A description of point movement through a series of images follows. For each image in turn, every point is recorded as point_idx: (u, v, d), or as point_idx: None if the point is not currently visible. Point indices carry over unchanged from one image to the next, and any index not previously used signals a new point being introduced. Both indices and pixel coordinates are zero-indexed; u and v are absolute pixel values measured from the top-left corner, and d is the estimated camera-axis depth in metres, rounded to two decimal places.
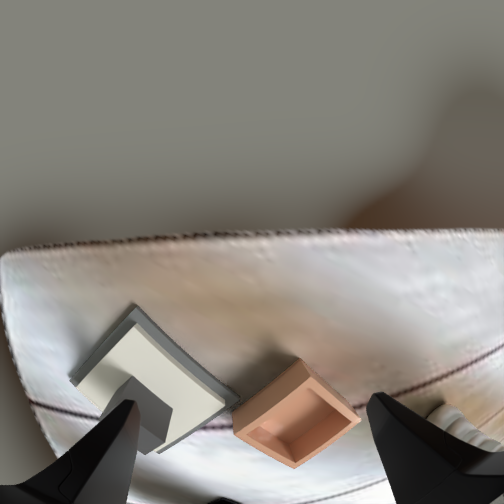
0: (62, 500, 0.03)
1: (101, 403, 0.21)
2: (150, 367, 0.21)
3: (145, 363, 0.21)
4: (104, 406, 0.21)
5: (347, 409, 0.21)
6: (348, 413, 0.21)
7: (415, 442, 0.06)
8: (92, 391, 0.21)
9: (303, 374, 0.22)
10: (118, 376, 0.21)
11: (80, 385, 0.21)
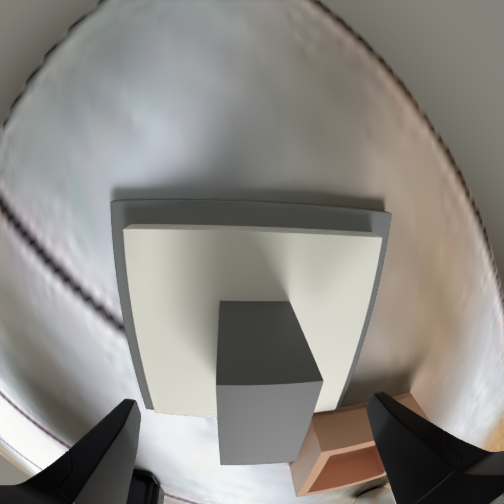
0: (62, 500, 0.03)
1: (152, 296, 0.11)
2: (332, 311, 0.12)
3: (333, 300, 0.12)
4: (151, 306, 0.11)
5: None
6: None
7: (415, 442, 0.06)
8: (159, 266, 0.11)
9: (419, 414, 0.15)
10: (260, 283, 0.11)
11: (142, 234, 0.10)
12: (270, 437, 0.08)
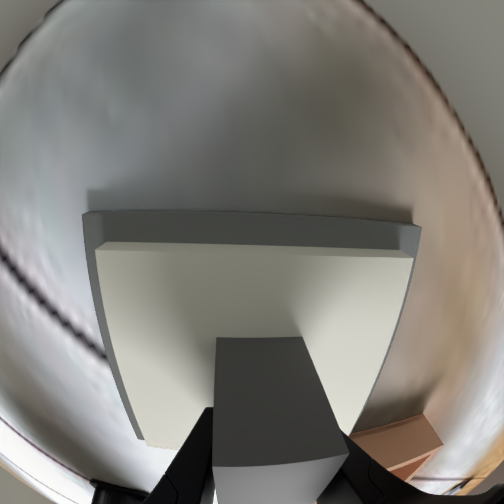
0: None
1: (134, 331, 0.09)
2: (351, 344, 0.10)
3: (353, 332, 0.09)
4: (134, 341, 0.09)
5: None
6: None
7: None
8: (140, 296, 0.08)
9: (433, 437, 0.12)
10: (266, 317, 0.09)
11: (118, 256, 0.08)
12: (279, 500, 0.05)
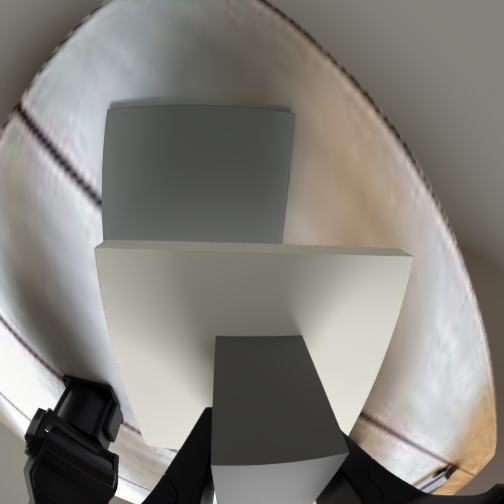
0: None
1: (133, 329, 0.09)
2: (351, 343, 0.10)
3: (353, 331, 0.09)
4: (133, 340, 0.09)
5: None
6: None
7: None
8: (139, 294, 0.08)
9: None
10: (266, 316, 0.09)
11: (117, 254, 0.08)
12: (278, 500, 0.05)
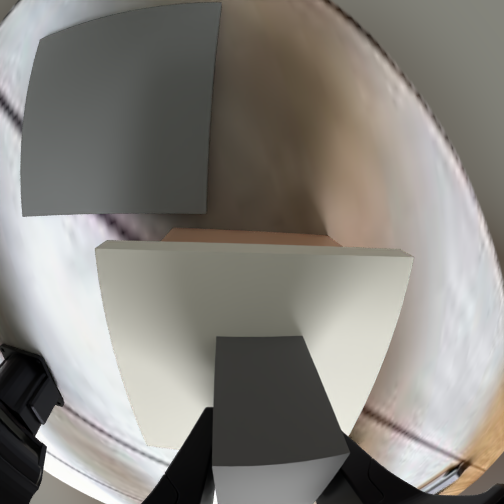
0: None
1: (134, 330, 0.09)
2: (351, 344, 0.10)
3: (354, 332, 0.09)
4: (134, 340, 0.09)
5: None
6: None
7: None
8: (139, 294, 0.08)
9: None
10: (267, 316, 0.09)
11: (117, 255, 0.08)
12: (279, 500, 0.05)
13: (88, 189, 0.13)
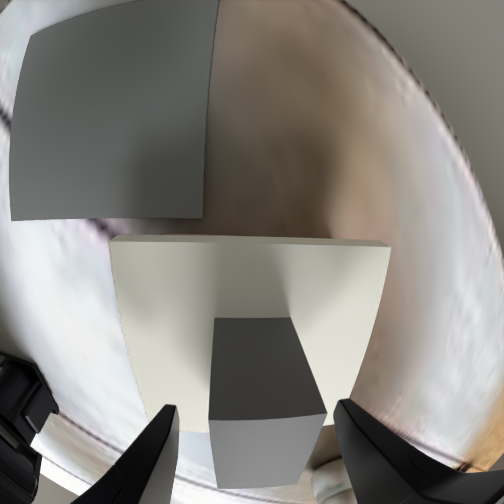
0: None
1: (142, 313, 0.10)
2: (336, 326, 0.11)
3: (337, 315, 0.11)
4: (142, 323, 0.10)
5: None
6: None
7: (377, 456, 0.06)
8: (148, 281, 0.10)
9: None
10: (258, 299, 0.10)
11: (128, 247, 0.09)
12: (269, 465, 0.07)
13: (77, 192, 0.12)
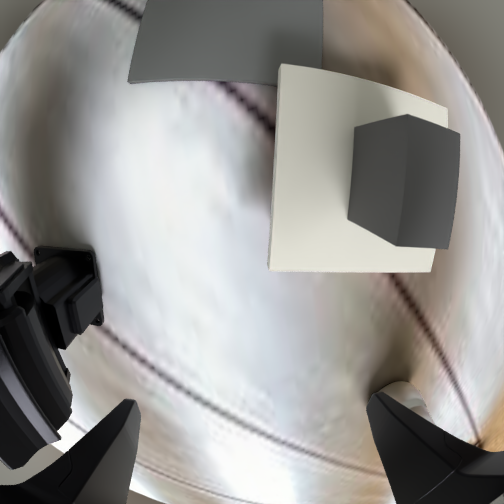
0: (62, 499, 0.03)
1: (300, 117, 0.12)
2: None
3: None
4: (298, 126, 0.12)
5: None
6: None
7: (415, 442, 0.06)
8: (309, 93, 0.12)
9: None
10: (381, 119, 0.12)
11: (297, 68, 0.11)
12: (437, 195, 0.09)
13: (216, 60, 0.14)
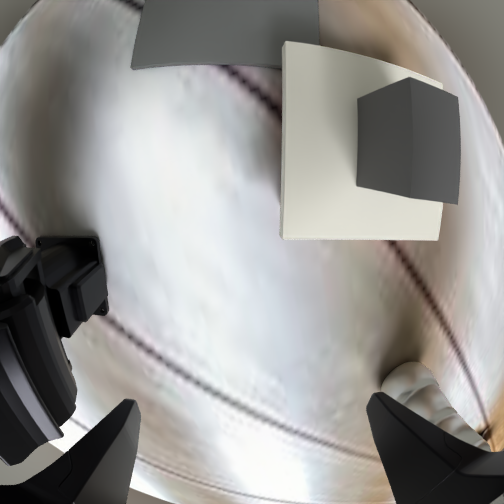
0: (62, 500, 0.03)
1: (306, 89, 0.12)
2: None
3: None
4: (305, 97, 0.12)
5: None
6: None
7: (415, 442, 0.06)
8: (313, 67, 0.12)
9: None
10: None
11: (301, 45, 0.11)
12: (442, 151, 0.09)
13: (218, 44, 0.14)
